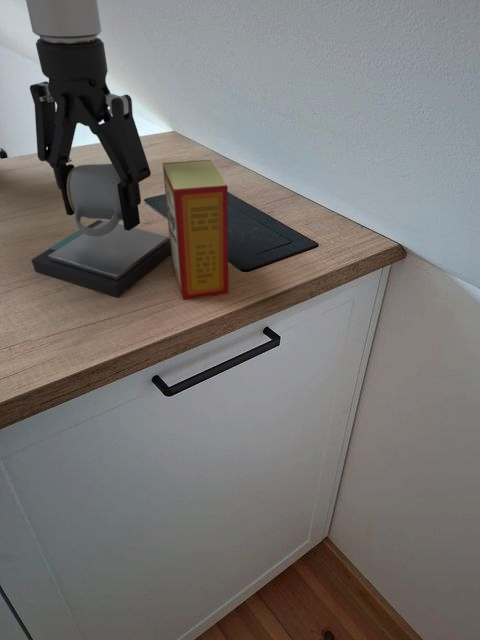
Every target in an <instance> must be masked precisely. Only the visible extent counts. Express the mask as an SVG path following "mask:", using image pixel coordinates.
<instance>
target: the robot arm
mask: <svg viewBox="0 0 480 640" xmlns="http://www.w3.org/2000/svg"><path fill="white" fill-rule="evenodd" d="M25 2H26V7H27V12H28V16H29V22H30V26H31V30H32V33H33V34H34V35H35V36H38V37H39V38H38V39H37V40H36V42H35V47H36V51H37V56H38V60H39V65H40V70H41V73H42V75H44V77H46V78H47V79H48V81H46V80H45V81H42V82H38V83H34V84H30V86H29V91H30V95H31V97H32V101H33V104H34V118H35V119H34V120H35V134H36V135H35V136H36V137H35V138H36V151H37V153H36V154H37V158H38V160H39V161H40V162H46V163H47V164H48V165H49V166H50V167H51V168H52V169H53V175H54V179H55V181H56V186H57V188H58V190H60V192H61V196H62V200H63V205H64V209H65V213H66V215H67V216H74V213H75V212H74V211H73V210H72V208H71V206H70V203H69V200H68V195H67V178H68V174H69V172H70V171H71V169H72V168H74V167H75V164H71V162H72V159H71V158H70V156H71V152H72V147H73V142H74V138H75V133H76V128H77V125H78V124H81V125H83V126H85V127H88V128H89V131H90V132H91V133H92V134H93V135H95V136H96V137H97V139H98V140H99V142H100V144H101V146H102V149H103V150H104V151H105V153H106V155H107V157H108V159H109V160H110V162H111V164H113V166H114V168H115V170H116V171H117V173H118V175H119V177H120V179H121V181H122V182H120V183H118V184H117V187H118V193H119V199H120V205H121V212H122V218H123V221H122V225H124V230H127V231H130V230H131V229H132V228H136V227H137V226H138V225H140V224H141V220H140V219H141V218H140V211H139V205H141V204H142V203H141V202H142V198H141V190H140V189H141V188H140V184H139V183H141V182H142V181H144V180H146V179H148V178H149V177H151V175H152V171H151V169H150V166H149V163H148V159H147V157H146V153H145V150H144V146H143V144H142V140H141V138H140V134H139V131H138V128H137V125H136V121H135V118H134V115H133V113H134V112H133V99H132V98H131V96H130V95H129V94H122V95H117V94H113V93H111V90H110V89H109V87H108V85H107V74H108V64H107V57H106V50H105V49H106V48H105V43H104V41H102V39H101V38H99V37H98V36H99V35H100V34H101V33H102V25H101V24H102V23H101V18H100V12H99V11H100V10H99V5H98V0H25ZM68 163H69V164H68ZM128 172H129V173H128Z"/></svg>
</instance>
